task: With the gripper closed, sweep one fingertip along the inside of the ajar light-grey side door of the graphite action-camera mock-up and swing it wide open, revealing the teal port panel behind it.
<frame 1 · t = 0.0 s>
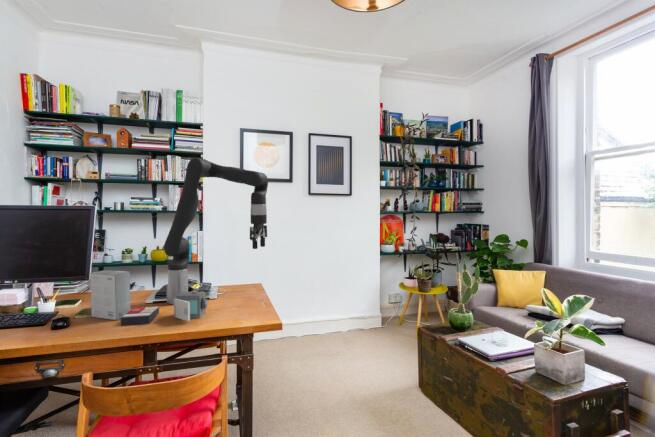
hand: (258, 247, 162), 29 cm above the table, fingers open, 8 cm apart
side door: (181, 310, 144), point 5 cm above the table, hinge at 35.0°
camera body: (176, 318, 148), on the table
hard drive box: (111, 316, 151), on the table
calculator: (141, 320, 148), on the table
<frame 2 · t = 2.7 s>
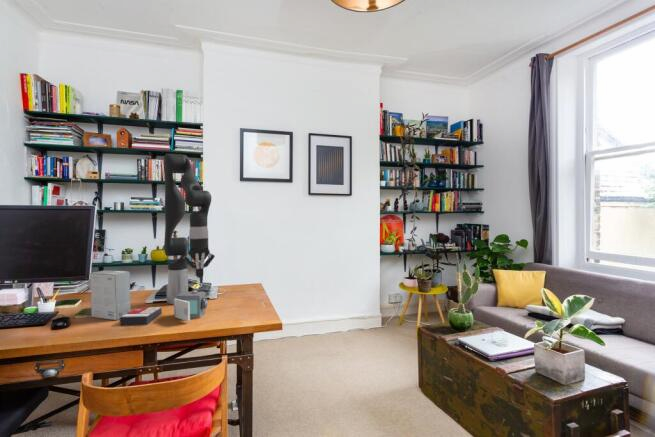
hand: (199, 277, 145), 19 cm above the table, fingers closed
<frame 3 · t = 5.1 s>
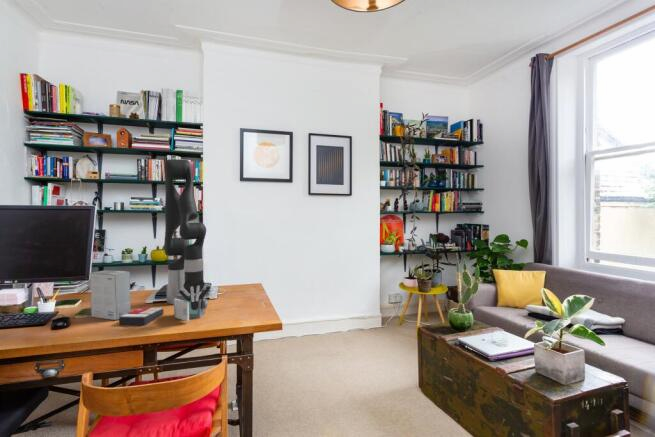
hand: (194, 309, 144), 5 cm above the table, fingers closed
side door: (181, 310, 143), point 5 cm above the table, hinge at 37.1°, touching gripper
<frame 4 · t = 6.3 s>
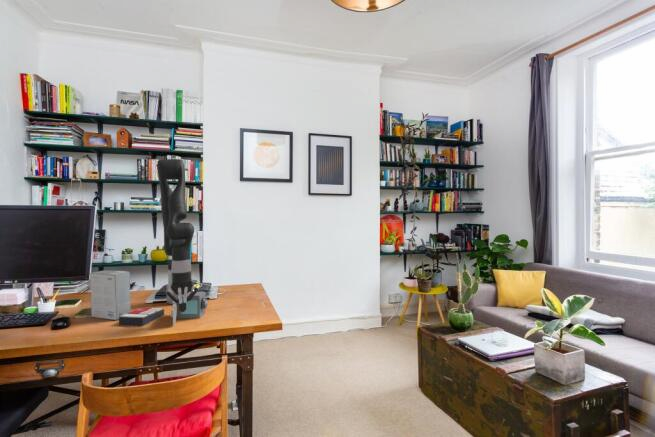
hand: (182, 311, 141), 5 cm above the table, fingers closed
side door: (173, 311, 142), point 5 cm above the table, hinge at 69.8°, touching gripper
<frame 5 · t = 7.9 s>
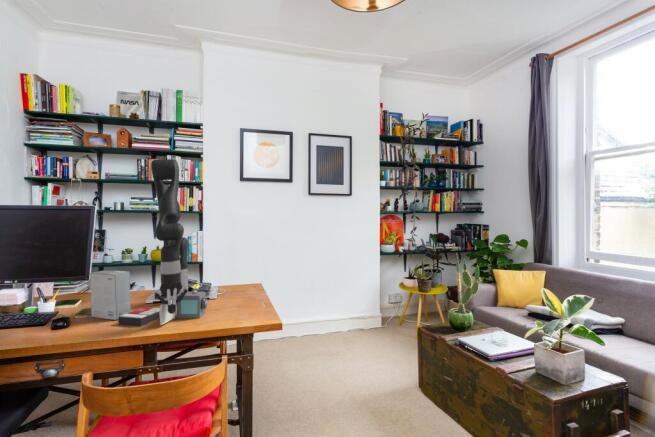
hand: (171, 313, 139), 5 cm above the table, fingers closed
side door: (166, 311, 142), point 5 cm above the table, hinge at 99.1°, touching gripper
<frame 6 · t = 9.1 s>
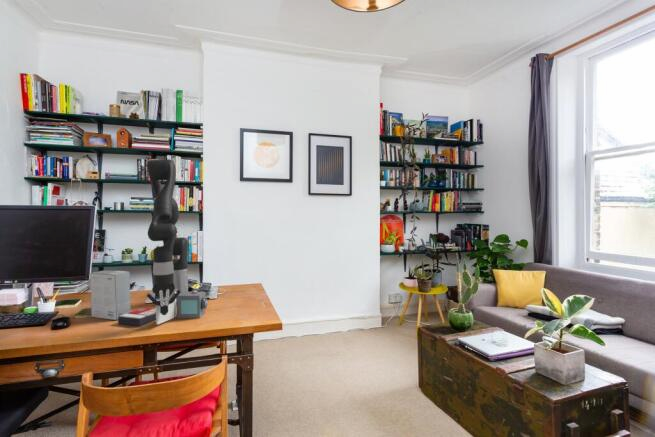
hand: (164, 314, 138), 5 cm above the table, fingers closed
side door: (164, 311, 142), point 5 cm above the table, hinge at 110.3°, touching gripper
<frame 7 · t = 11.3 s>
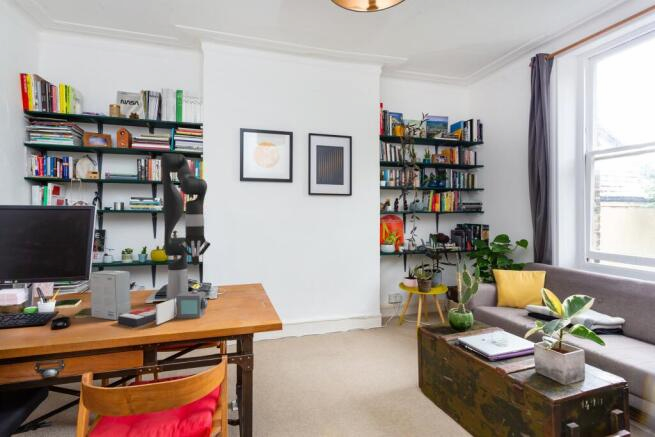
hand: (195, 264, 146), 24 cm above the table, fingers closed
side door: (164, 311, 142), point 5 cm above the table, hinge at 110.3°
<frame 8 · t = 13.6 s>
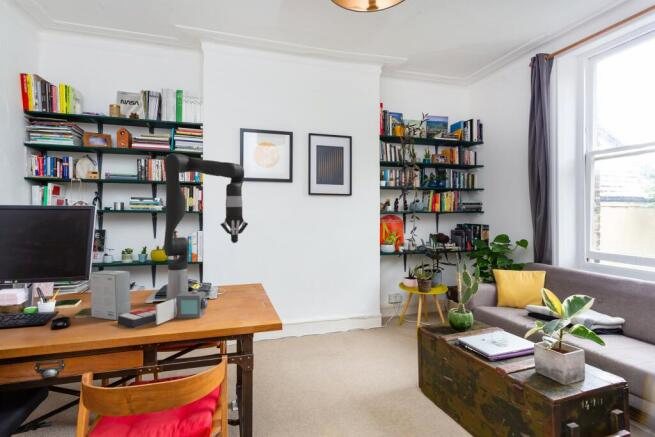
hand: (234, 242, 159), 32 cm above the table, fingers closed
at the end: side door at +110° (first picture: +35°) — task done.
